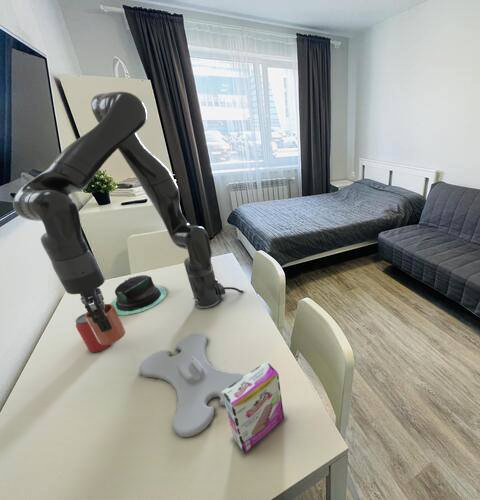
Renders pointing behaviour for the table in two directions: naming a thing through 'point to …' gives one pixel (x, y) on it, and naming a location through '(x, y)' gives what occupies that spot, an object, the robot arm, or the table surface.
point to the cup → (111, 334)
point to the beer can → (88, 335)
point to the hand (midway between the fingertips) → (105, 323)
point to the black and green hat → (137, 295)
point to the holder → (190, 382)
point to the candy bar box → (254, 405)
